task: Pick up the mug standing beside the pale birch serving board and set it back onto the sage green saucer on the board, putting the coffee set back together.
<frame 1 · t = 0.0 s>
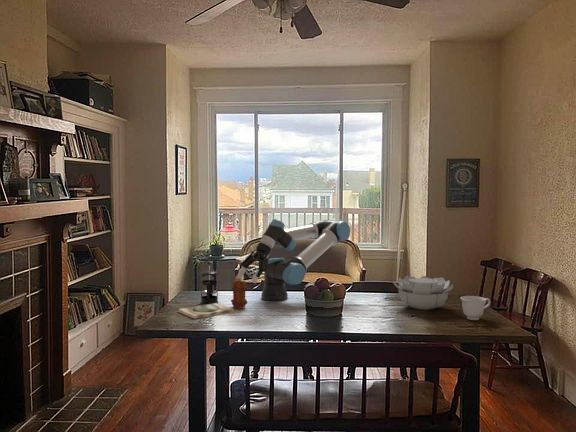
hand: (245, 280, 258), 16 cm above the table, tool tilted 35°, fingers open, 13 cm apart
mug: (238, 307, 266), on the table, touching gripper
serving board: (205, 312, 255), on the table
french press: (209, 303, 276), on the table
decorative bowl: (421, 308, 267), on the table
teacup: (475, 318, 245), on the table
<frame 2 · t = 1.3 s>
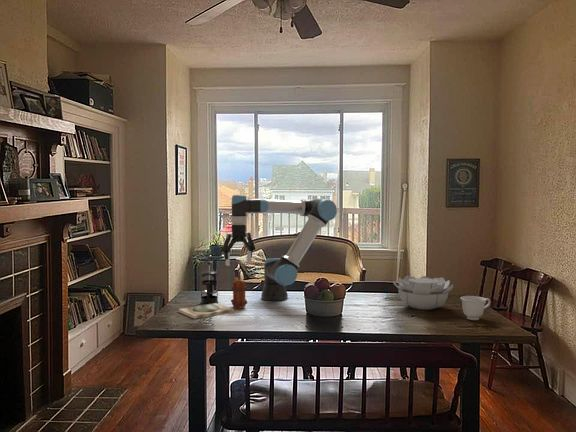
hand: (238, 264, 265), 23 cm above the table, tool pointing down, fingers open, 13 cm apart
mug: (238, 307, 266), on the table
everything else where it was.
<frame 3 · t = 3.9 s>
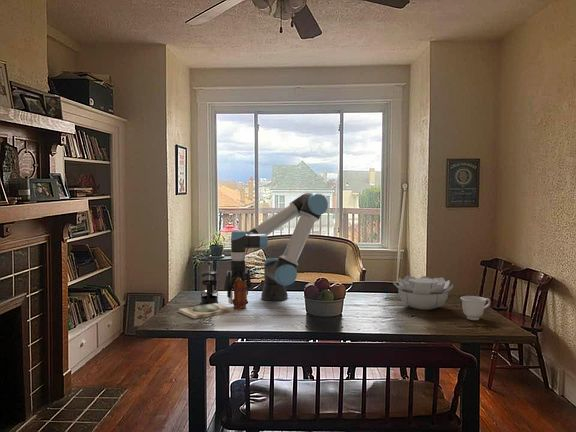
hand: (237, 302, 266), 3 cm above the table, tool pointing down, fingers closed on mug, 8 cm apart
mug: (238, 307, 266), on the table, touching gripper
everything else where it was.
when the fingers open (6 cm above the table, at t = 10.9 s): mug drops 1 cm, resting on serving board.
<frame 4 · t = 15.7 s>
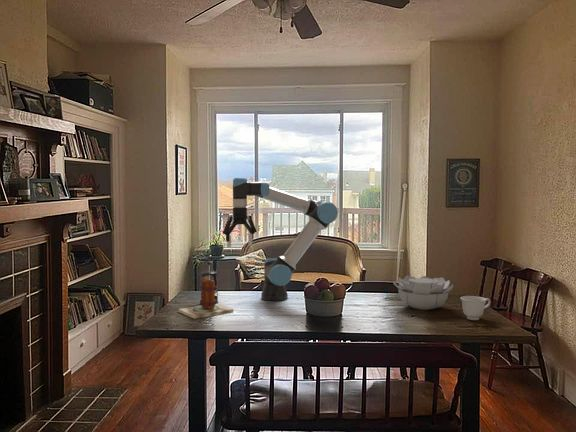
hand: (239, 246, 269), 32 cm above the table, tool pointing down, fingers open, 13 cm apart
mug: (207, 307, 255), point 2 cm above the table, touching serving board
everything else where it was.
at the end: mug inside the target area on the serving board (0.9 cm from its centre), point 2.1 cm above the serving board's base; mug tilted 0°; the gripper is holding nothing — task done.
